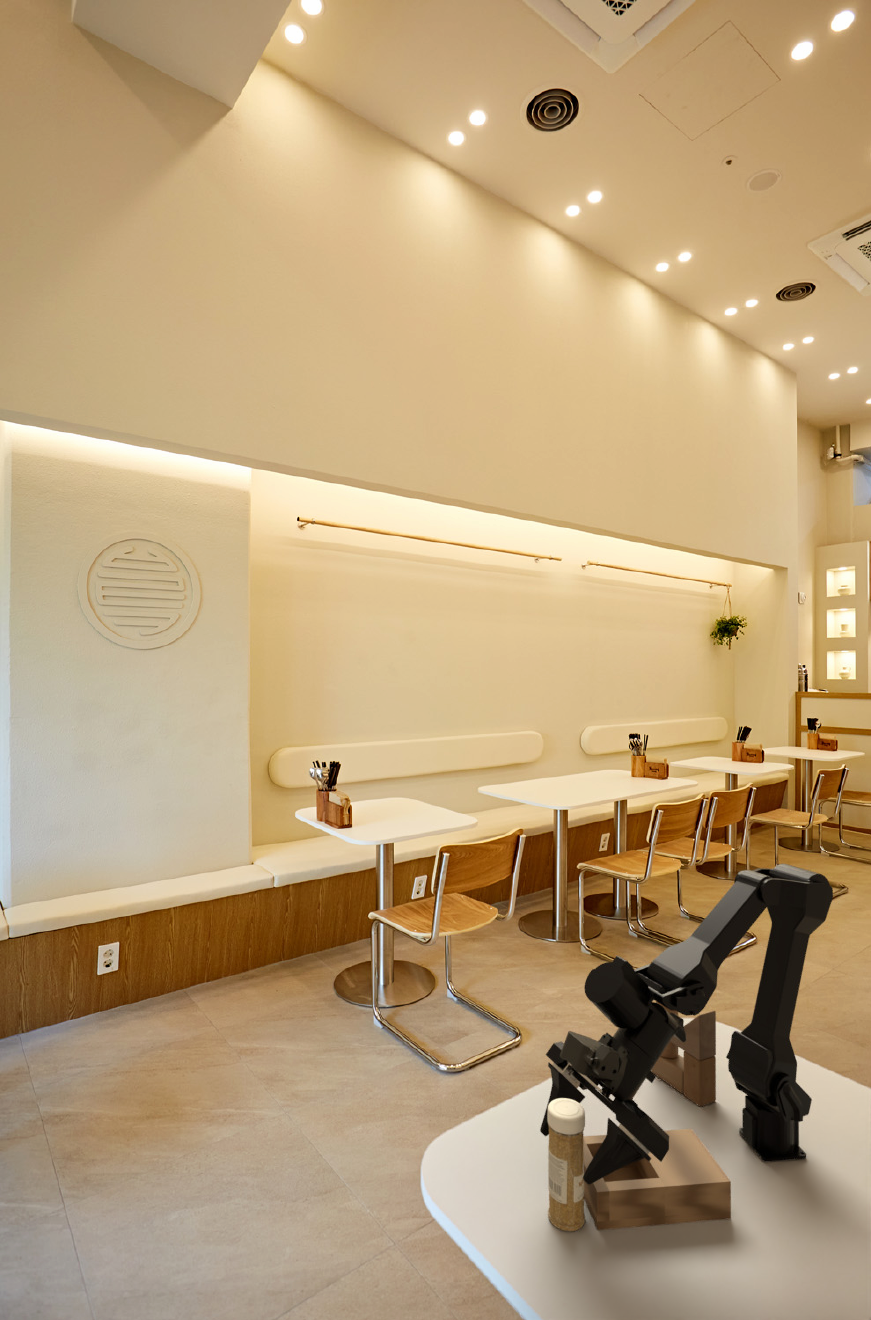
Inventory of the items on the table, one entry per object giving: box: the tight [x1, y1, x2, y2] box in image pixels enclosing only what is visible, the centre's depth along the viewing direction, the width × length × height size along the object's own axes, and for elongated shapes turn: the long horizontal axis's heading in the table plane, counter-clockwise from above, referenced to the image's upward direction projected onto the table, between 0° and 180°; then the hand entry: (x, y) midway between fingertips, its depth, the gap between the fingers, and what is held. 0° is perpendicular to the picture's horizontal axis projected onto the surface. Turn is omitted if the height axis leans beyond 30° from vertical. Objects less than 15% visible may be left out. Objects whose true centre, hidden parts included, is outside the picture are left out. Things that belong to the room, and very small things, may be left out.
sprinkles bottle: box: [547, 1098, 586, 1232], centre depth 85 cm, size 5×5×14 cm
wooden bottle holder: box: [583, 1128, 732, 1231], centre depth 89 cm, size 17×10×4 cm, turn 96°
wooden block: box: [651, 1001, 717, 1107], centre depth 113 cm, size 4×11×18 cm, turn 26°
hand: (563, 1156), depth 85 cm, fingers open, 9 cm apart
